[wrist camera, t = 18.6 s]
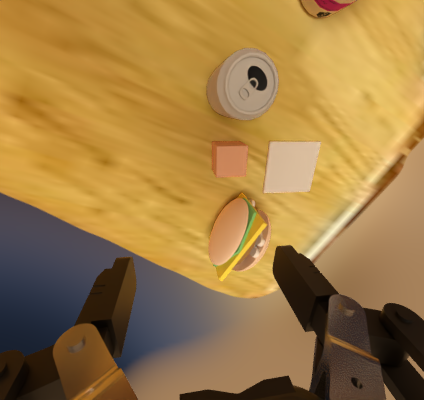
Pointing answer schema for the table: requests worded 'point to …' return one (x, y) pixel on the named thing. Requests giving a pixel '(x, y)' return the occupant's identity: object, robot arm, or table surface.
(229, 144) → the block
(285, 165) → the pad
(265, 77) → the can
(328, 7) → the supplement can
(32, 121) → the table surface
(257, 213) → the hamburger
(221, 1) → the table surface
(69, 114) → the table surface
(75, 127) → the table surface
